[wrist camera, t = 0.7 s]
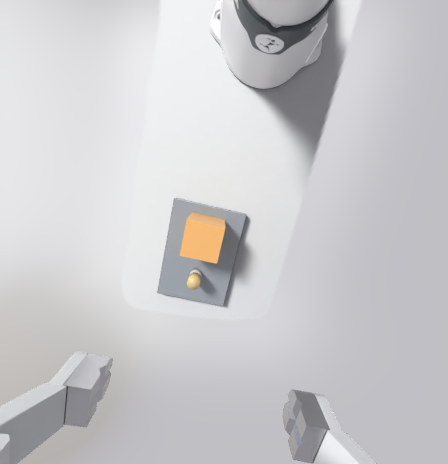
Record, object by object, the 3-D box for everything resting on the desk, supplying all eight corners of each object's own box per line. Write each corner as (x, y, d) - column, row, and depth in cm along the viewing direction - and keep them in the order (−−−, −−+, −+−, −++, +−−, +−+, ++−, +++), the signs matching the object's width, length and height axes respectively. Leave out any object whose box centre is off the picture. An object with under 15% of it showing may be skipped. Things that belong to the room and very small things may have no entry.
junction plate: (175, 197, 44) (168, 201, 38) (245, 213, 45) (249, 219, 39) (159, 289, 49) (150, 304, 43) (222, 302, 50) (223, 319, 44)
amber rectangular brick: (192, 212, 43) (186, 219, 36) (224, 219, 44) (225, 227, 37) (185, 243, 45) (179, 255, 38) (217, 250, 45) (216, 263, 38)
